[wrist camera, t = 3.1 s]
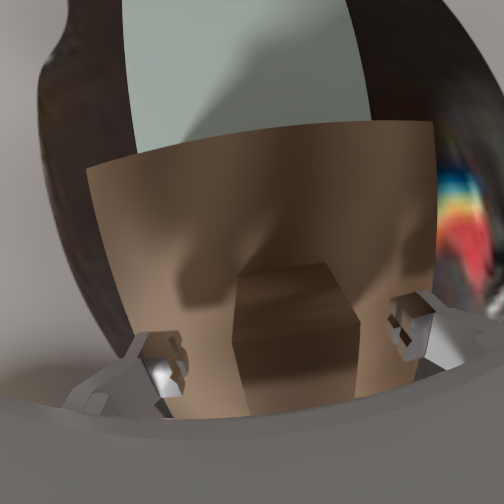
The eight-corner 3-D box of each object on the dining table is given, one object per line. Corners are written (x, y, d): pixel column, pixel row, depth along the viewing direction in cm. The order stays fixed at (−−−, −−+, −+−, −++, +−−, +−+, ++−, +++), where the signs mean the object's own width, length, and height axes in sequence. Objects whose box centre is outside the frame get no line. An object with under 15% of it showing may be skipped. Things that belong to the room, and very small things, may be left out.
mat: (331, -36, 13) (332, -38, 13) (369, 122, 18) (371, 121, 17) (124, -6, 14) (122, -8, 13) (140, 154, 19) (138, 155, 18)
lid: (419, 122, 10) (505, 120, 5) (405, 373, 14) (440, 437, 9) (98, 166, 10) (14, 185, 6) (177, 406, 15) (161, 479, 10)
